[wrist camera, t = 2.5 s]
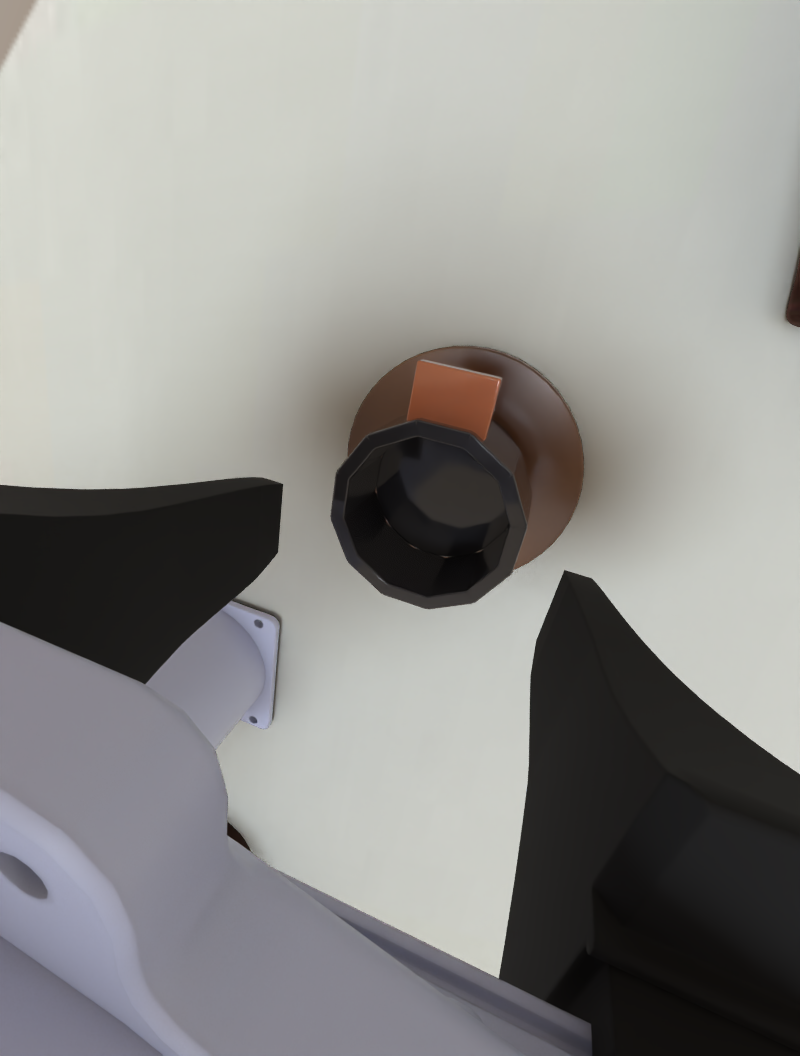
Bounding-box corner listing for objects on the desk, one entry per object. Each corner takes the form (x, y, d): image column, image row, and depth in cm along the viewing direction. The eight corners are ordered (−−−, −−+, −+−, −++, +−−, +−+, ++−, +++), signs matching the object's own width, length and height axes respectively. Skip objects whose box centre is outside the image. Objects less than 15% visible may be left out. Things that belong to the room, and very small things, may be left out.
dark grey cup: (375, 518, 19) (322, 574, 15) (407, 341, 16) (350, 346, 12) (508, 559, 18) (492, 632, 14) (568, 376, 15) (571, 397, 11)
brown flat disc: (340, 536, 21) (334, 542, 21) (369, 322, 17) (363, 321, 17) (538, 599, 19) (538, 607, 19) (623, 377, 15) (625, 379, 15)
